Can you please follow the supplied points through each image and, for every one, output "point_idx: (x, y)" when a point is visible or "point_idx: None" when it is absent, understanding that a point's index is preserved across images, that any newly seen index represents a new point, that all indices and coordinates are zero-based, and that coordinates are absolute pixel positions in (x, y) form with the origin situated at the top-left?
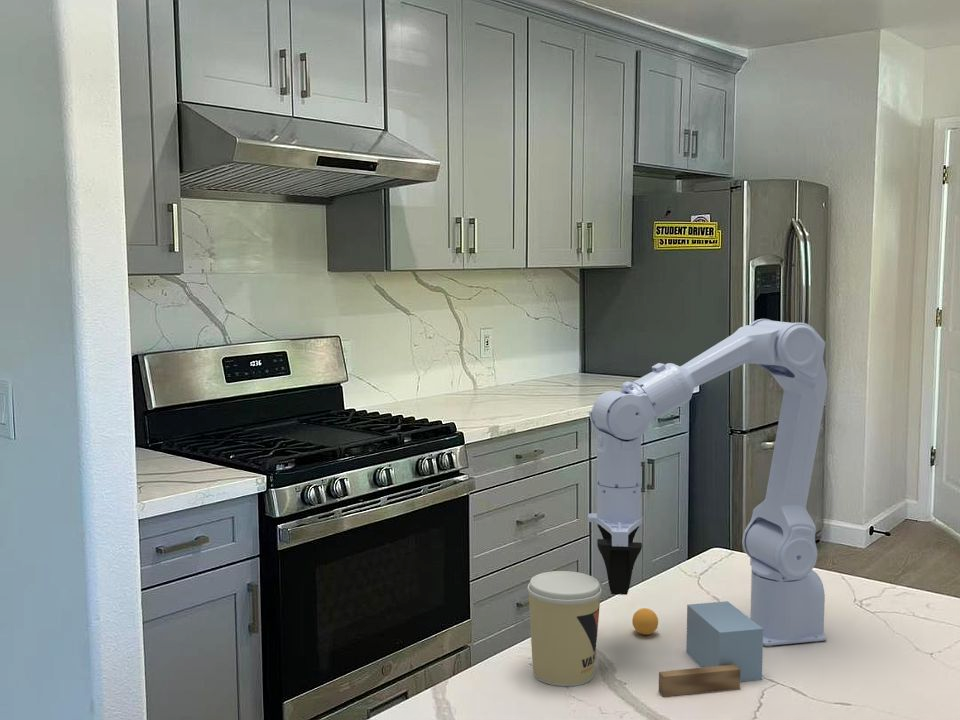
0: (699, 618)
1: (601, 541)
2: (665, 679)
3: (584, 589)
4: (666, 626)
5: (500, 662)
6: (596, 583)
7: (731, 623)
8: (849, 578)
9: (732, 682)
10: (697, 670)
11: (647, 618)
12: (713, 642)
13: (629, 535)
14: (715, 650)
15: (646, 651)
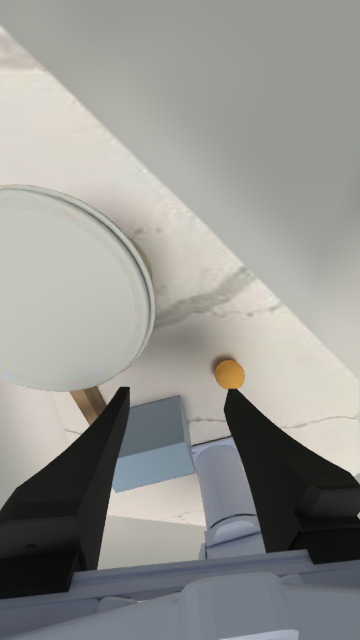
0: (150, 446)
1: (38, 531)
2: None
3: (8, 359)
4: (241, 385)
5: (140, 182)
6: (62, 386)
7: (126, 473)
8: None
9: None
10: (89, 412)
11: (220, 381)
12: None
13: (261, 509)
14: None
15: (181, 364)
